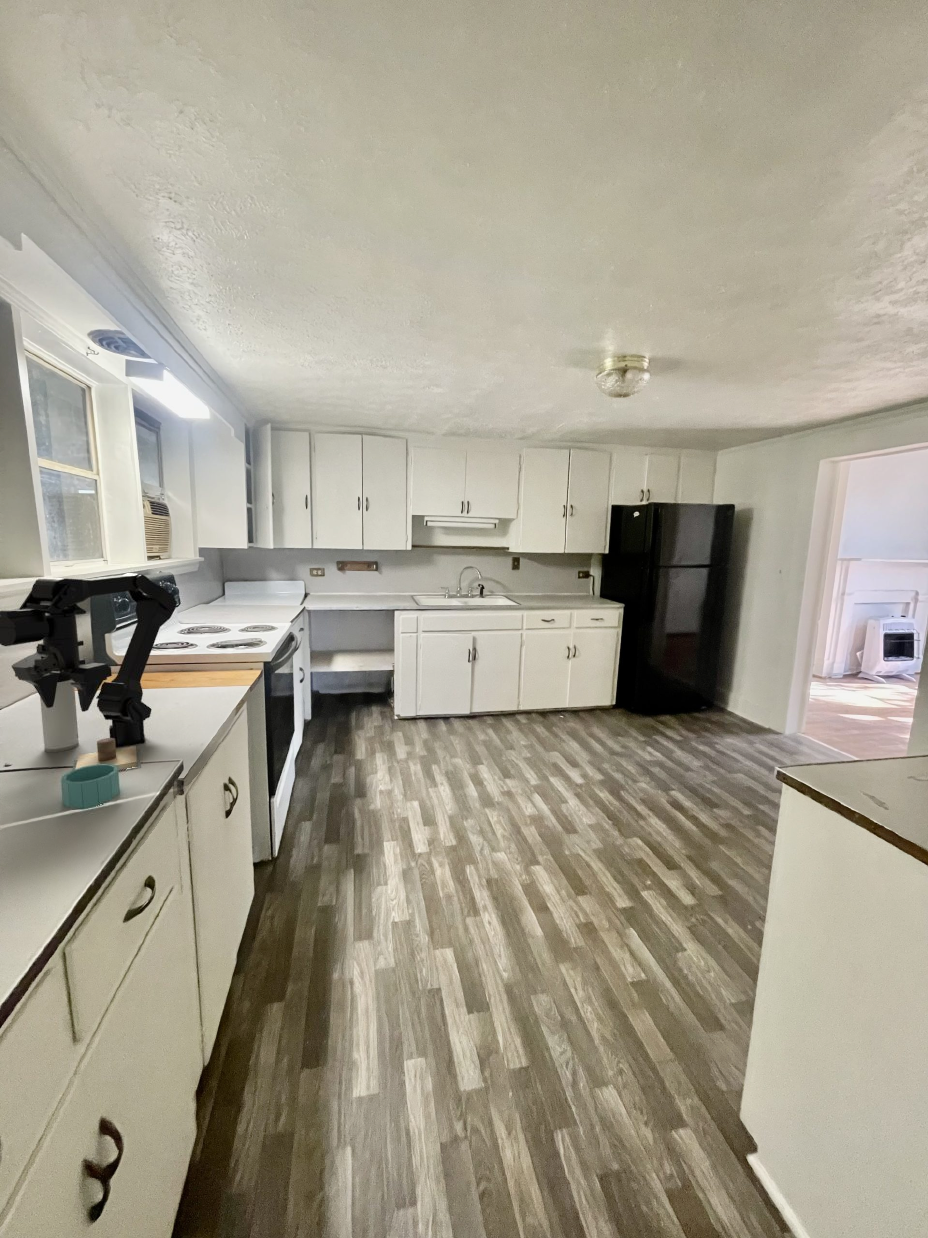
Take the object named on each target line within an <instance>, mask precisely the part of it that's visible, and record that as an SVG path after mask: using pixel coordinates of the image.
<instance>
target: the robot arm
mask: <svg viewBox="0 0 928 1238" xmlns="http://www.w3.org/2000/svg"><path fill="white" fill-rule="evenodd" d="M125 592H127V594H128V598H129V599H130V600H131V601H132V602H133V603H135V604H136V606H135V610H134V612H135V615H136V616H135V617H136V619H137V623H136V625H135V628H134V630H133V633H132V636H131V638H130V641H129V643H128V646H127V649H126V652H125V654H124V657H123V660H122V662H121V664H120V667H119V670H118V673H117V675H116V676H115V677H114V678H113V679H112V680H111V681H107V680H108V678H109V677H112V676H113V675H112V674H113V673H112V666H110V665H109V664H108V663H99V662H92V663H88V664H86V659H84V658H81V657H80V646H84V645H85V643H84V640H79V636H78V623H77V616H78V615H85V614H86V613H87V610H85V609H84V608H82V607H81V606H79V605H78V604H80V603H82V602H85V601H86V600H87V599H89V598H93V597H98V596H103V595H110V594H118V593H125ZM177 605H178V604H177V600H176V597H175V595H174V594H173V593H171V592H169V591H167V590H166V588H164V587H163V586H161V585H159V584H157V583H155V582H153V581H151V580H150V578H148V576H146V575H144V574H142V573H129V572H128V573H125V574H121V575H109V576H103V577H92V578H83V579H79V578H67V577H66V578H65V577H63V578H61V577H41V578H38V579H36V580H35V582H34V583H33V585H32V587H31V590H30V592H29V593H28V595H27V596H26V598H25V599H24V601H23V602H22V604H21V606H20V607H19V608H18V609H14V610H13V609H12V610H11V609H4V610H0V645H1V646H2V647H12V646H17V645H24V644H30V643H35V642H40V641H42V643H37V645H36V647H35V648H36V652H35V653H33V654H30V655H28V656H26V657H24V658H22V659H20V660H19V661H16V662H15V663H13V664H12V665H11V668H12V670H13V672H14V676H15V677H17V679H18V681H19V680H20V681H22V682H23V681H24V682H26V683H29V684H31V685H32V686H33V687H34V689H35V690H36V691H37V692H36V693H38V696H39V698H40V697H41V699H42V700H43V702H44V704H45V706H46V707H47V708H51V707H53V705H54V701H55V695H56V688H57V682H58V675H59V674H63V675H70V678H71V679H72V680H73V681H74V682H73V683H70V684H71V685H73V686H74V687H75V689H77V690H76V691H77V696H78V702H79V707H80V710H81V712H83V713H84V712H87V711H89V709H90V707H91V705H92V702H93V701H94V698H95V699H97V701H96V707H97V709H98V710H99V712H100V713H101V714H102V716H103V718H104V720H105V721H111V724H110V725H109V726H108V727H109V729H108V730H109V738H114V739H115V746H116V749H119V748H125V747H131V746H137V745H141V744H145V743H146V737H145V736H146V735H145V724H144V721H146V720H147V719H149V718H150V717H151V714H152V708H151V707H150V706H148V705H147V704H146V703H144V702H143V701H142V700H143V695H144V693H143V692H144V691H143V687H142V684H141V680H142V677H143V675H144V671H145V670H146V666H147V664H148V661H149V658H150V655H151V652H152V650H153V648H154V645H155V641H156V640H157V636H158V633H159V631H160V628H161V627H162V626H163V625H165V624H166V622H168V621H169V620H170V619H171V617H172V616H173V613H174V612H175V610H176V608H177ZM67 670H69V671H67ZM100 687H101V688H100ZM99 689H100V691H99ZM98 691H99V693H98V695H97V696H96V694H97V692H98Z"/></svg>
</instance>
